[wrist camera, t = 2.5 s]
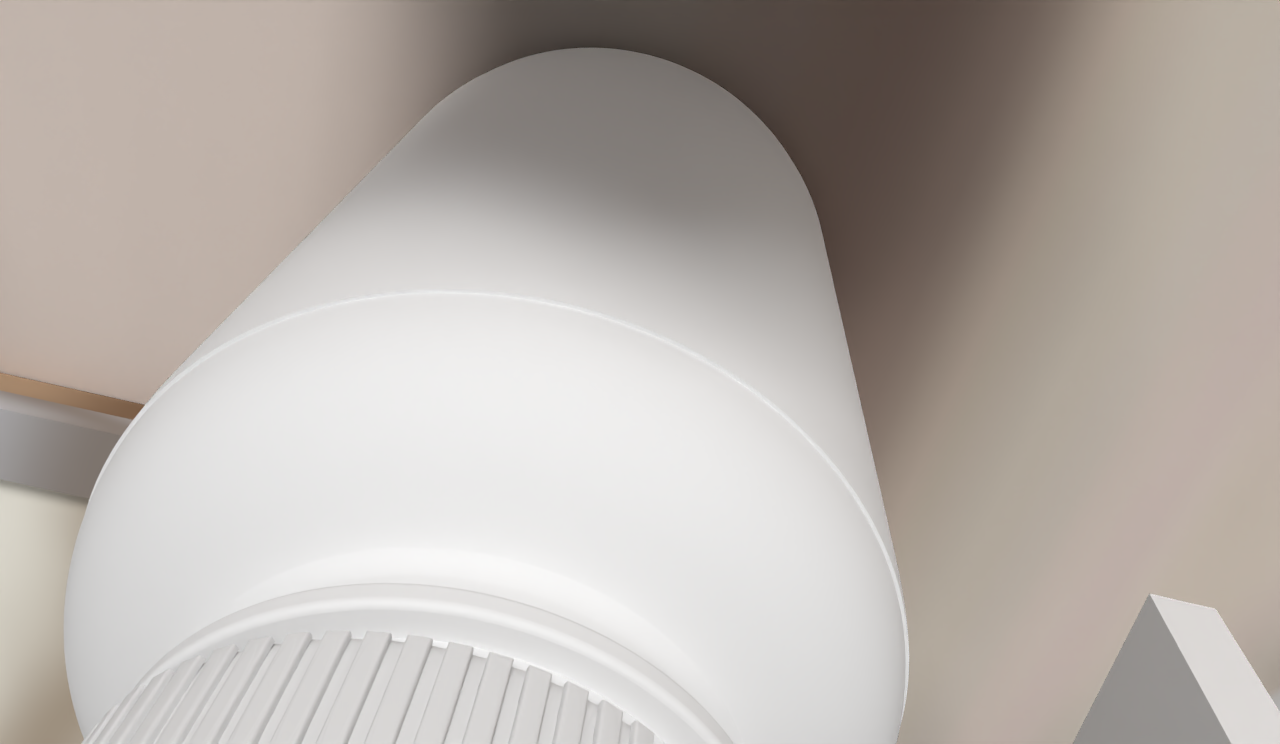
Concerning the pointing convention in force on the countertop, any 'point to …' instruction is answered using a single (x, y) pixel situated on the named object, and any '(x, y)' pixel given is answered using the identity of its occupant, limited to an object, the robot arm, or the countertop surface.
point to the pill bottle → (512, 455)
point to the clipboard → (44, 542)
